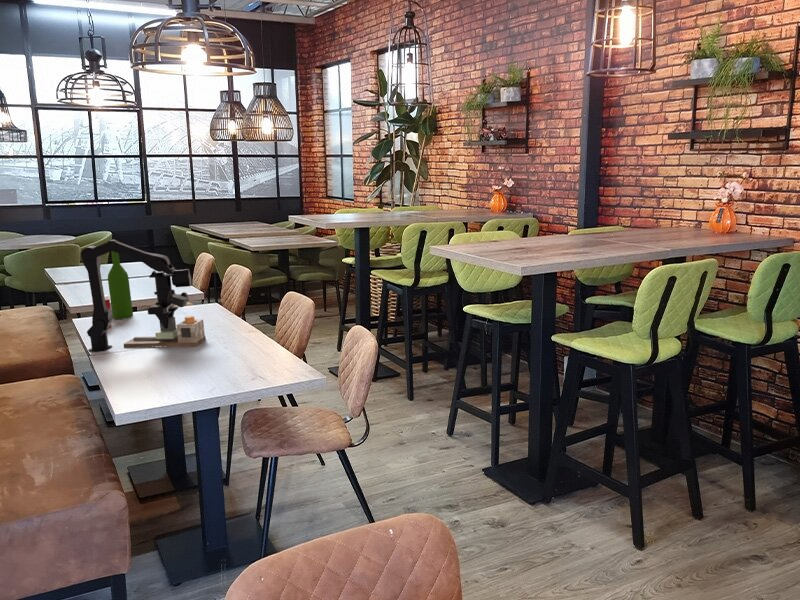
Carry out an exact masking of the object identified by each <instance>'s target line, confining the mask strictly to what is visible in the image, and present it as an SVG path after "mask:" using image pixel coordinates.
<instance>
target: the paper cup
mask: <svg viewBox="0 0 800 600" xmlns="http://www.w3.org/2000/svg"><path fill="white" fill-rule="evenodd" d="M104 297H105V303H106V306H107V308H108V310H109V309H111V300H110V294H104ZM91 302H92V303H93V300H92V299H91ZM92 308H94V306H93V305H92ZM110 327H111V328H112V324H111V325H110V326H109V327H108V329H111V328H110Z"/></svg>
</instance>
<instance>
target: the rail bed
mask: <svg viewBox="0 0 800 600" xmlns="http://www.w3.org/2000/svg"><path fill="white" fill-rule="evenodd" d="M194 319H195V318H194ZM204 324H205V323H204V319H201V318H200V319H199V318H198V319H197V318H196V319H195V323H193V324H185V320H183V321H181V322H179V323H177V324H176V328H177V335H178V336H177V337H175V338H174V339H156V336H134V337H133V338H132V339H130V340H128V341H126V342H124V343H123V348H156V347H155V346H162V347H161V348H188V347H189V348H190V347H191V348H192V347H197V346H199V345H200V344H202V343H203V342H205V341H206V338H207V337H206V334H205V325H204ZM152 346H153V347H152ZM164 346H166V347H164Z"/></svg>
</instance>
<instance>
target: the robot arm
mask: <svg viewBox="0 0 800 600" xmlns="http://www.w3.org/2000/svg"><path fill="white" fill-rule="evenodd" d="M111 251H113V252H116V253H119V255H121V256H125V257H128V258H129V259H133V260H135V261H138V262H141V263H143V264H145V266H147V267H149V268H150V269H152V270H153V271H152V272H151V274H150V275H149V276H148V278H149V279H150V278H151V279H153V278H154V282H155V283H154V284H155V290H156V291H153V293H154V295H155V296H156V298H157V299H156V302H155V304H153V305H151V306H149V307H148V308H147V315H155V316H156V318H157V319H158V321H159V320H160V321H159V323H160V322H161V323H162V325H163V326H164V328H165V329H167V328H168V317H175V312H176V311H177V310H178V309H179V308H184V307H185V306H187V303H188V301H189V300H190V299H189V296H188V293H187V292H185V291H183V292H181V293H178V294H177V293H176V291H175V289H173V288H172V286H175V288H186V287H192V276H191V273H190V269H189V268H185V269H176V268H175V266H173V264H172V263H171V261H170V259H169V257H168V256H167V255H164V254H159V253H154V252H153V253H152V252H147V251H144V250H142V249H139V248H135V247H133V246H130V245H128V244H126V243H123V242H120V241H118V240H116V239H110V240H108V241H107V242H105V243H102V244H100V245H98V246H95V245H89V246H87V247H85V248H83V249H82V250H81V252H80V258H81V262H82V264H83V266H84V268H85V270H86V271H87V276H88V281H89V287H90V294H91V300H93V302H92V307H93V306H94V307H93V311H92V316H91V317H92V318H91V320H92V321H91V322H92V323H91V325H92V326H90V327H89V329H88V330H87V331H86V334H87V335H88V337H89V339H90V343H91V344H90V345H91V347H90V348H89V349H87V351H88V352H103V351H104V352H105V351H107V350H108V349H110V348H112V347H113V345H110V344H109V339H108V333H107V331H108V330H109V328H108V327H109V326H110V325H111V326H112V324H113V320H115V319H114V318H113V315H112V308H110V309H109V310H108V308H107V306H106V303H105V297H104V295H105V293H104V286H103V280H102V279H103V278H102V274H101V266H102V256H103V255H106V254H108V253H110V252H111Z"/></svg>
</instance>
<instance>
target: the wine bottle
mask: <svg viewBox="0 0 800 600" xmlns="http://www.w3.org/2000/svg"><path fill="white" fill-rule="evenodd" d="M111 260H112V264H111V265H112V266H111V267H110V270H109V272H108V274H107V285H108V291H109V297H110V309H112V315H113V318H115V319H114V320H125V319H124V318H127V319H130V318H129V317H131V316H133V317H134V312H133V303H132V295H131V288H130V287H131V286H130V281H129V280H130V279H129V274H128V272H127V271H126V269H125V268H124V267H123V266H122V264H121V261H120V254H119V253H116V252H113V251H111ZM131 318H132V317H131Z"/></svg>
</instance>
